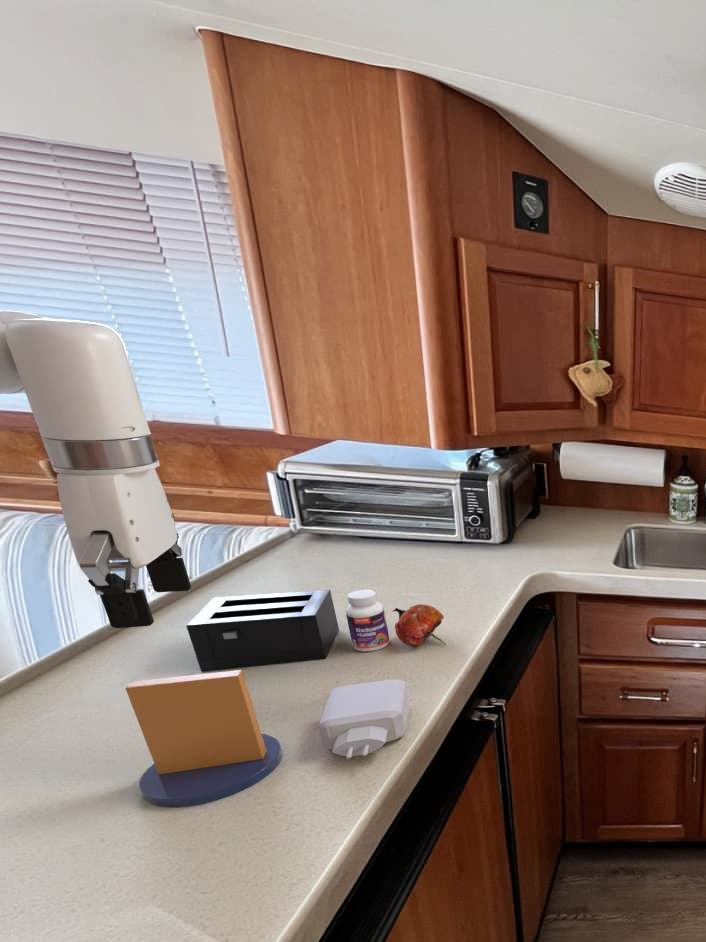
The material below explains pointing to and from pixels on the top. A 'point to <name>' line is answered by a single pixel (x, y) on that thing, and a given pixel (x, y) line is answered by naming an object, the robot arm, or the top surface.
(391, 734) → the charger
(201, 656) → the toaster
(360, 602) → the pill bottle
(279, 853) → the top surface
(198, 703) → the toast
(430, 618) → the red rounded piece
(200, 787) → the plate
